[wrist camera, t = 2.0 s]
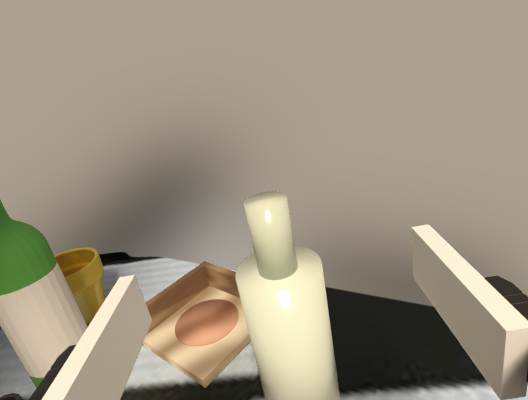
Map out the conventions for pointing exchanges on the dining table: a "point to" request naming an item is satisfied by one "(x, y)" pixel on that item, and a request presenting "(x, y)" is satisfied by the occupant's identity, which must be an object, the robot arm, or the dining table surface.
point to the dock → (198, 323)
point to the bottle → (286, 307)
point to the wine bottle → (34, 299)
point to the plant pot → (83, 279)
